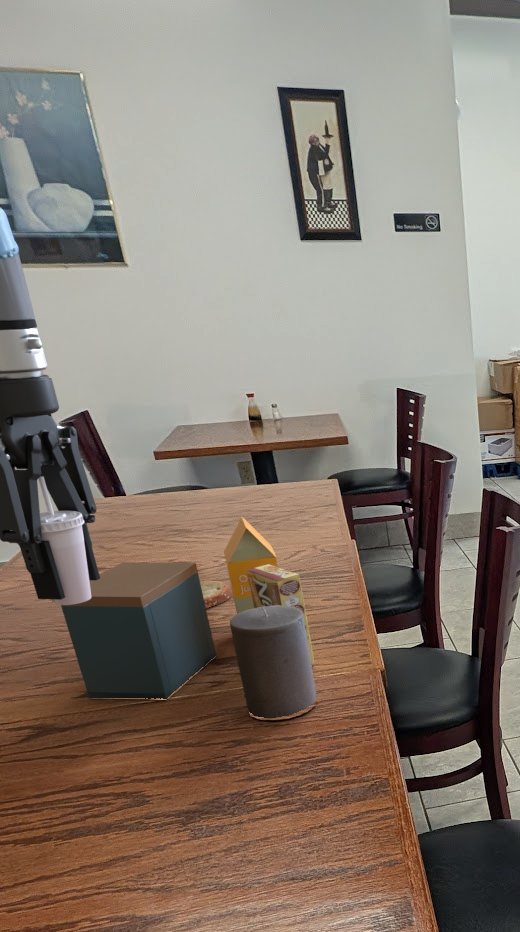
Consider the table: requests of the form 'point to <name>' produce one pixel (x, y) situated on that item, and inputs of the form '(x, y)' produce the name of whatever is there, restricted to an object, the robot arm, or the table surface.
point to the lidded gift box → (141, 630)
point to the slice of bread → (215, 592)
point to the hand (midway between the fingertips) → (70, 588)
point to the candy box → (278, 591)
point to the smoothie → (66, 550)
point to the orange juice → (246, 561)
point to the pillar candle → (273, 660)
